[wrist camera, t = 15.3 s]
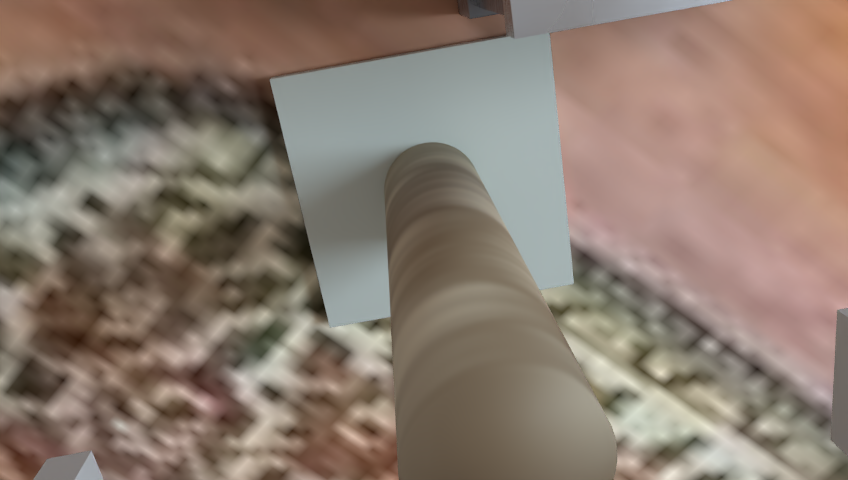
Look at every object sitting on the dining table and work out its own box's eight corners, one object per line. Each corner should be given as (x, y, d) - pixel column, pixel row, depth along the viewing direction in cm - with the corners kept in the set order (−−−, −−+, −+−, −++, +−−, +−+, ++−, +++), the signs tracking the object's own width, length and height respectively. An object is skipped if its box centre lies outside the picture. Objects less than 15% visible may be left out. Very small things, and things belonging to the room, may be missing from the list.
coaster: (330, 320, 29) (330, 327, 28) (271, 77, 25) (269, 79, 24) (569, 277, 29) (573, 283, 28) (545, 28, 25) (549, 29, 24)
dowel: (393, 241, 27) (418, 570, 12) (375, 151, 26) (379, 395, 11) (485, 224, 27) (623, 533, 12) (472, 134, 26) (609, 354, 11)
